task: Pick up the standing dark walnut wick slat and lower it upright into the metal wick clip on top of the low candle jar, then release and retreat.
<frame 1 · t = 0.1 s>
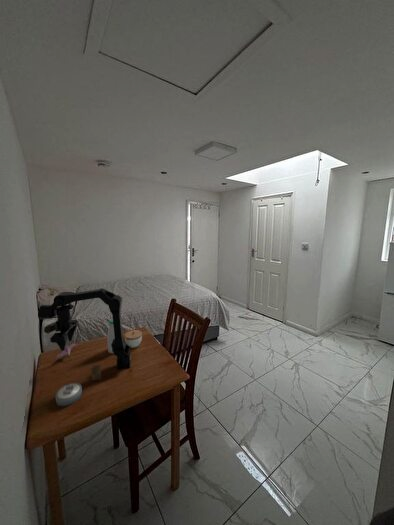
hand: (66, 345, 109), 15 cm above the table, fingers open, 9 cm apart
lily: (67, 358, 122), on the table
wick: (96, 379, 105), on the table
milk bottle: (114, 350, 130), on the table
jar: (69, 396, 94), on the table
lidded jar: (133, 345, 136), on the table
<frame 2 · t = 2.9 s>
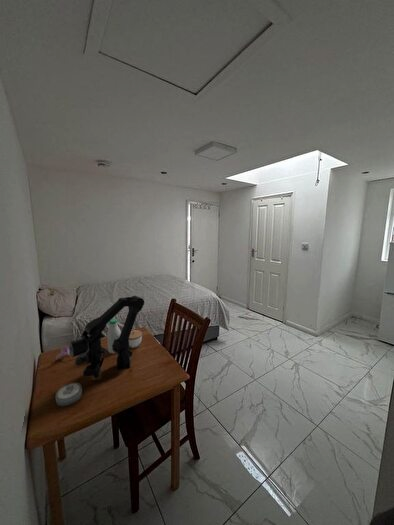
hand: (96, 376, 105), 2 cm above the table, fingers closed on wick, 1 cm apart
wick: (96, 379, 105), on the table, touching gripper
everything else where it was.
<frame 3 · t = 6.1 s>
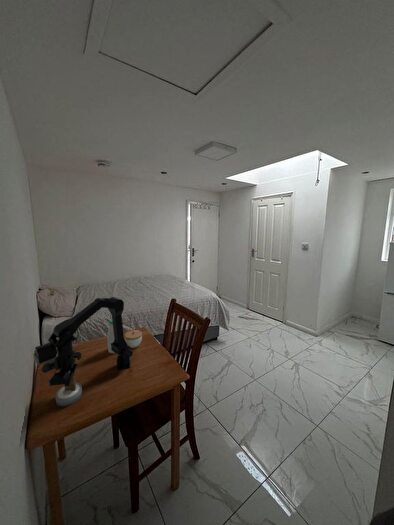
hand: (68, 384, 93), 6 cm above the table, fingers closed on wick, 1 cm apart
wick: (70, 390, 94), point 3 cm above the table, touching gripper, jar
everything else where it was.
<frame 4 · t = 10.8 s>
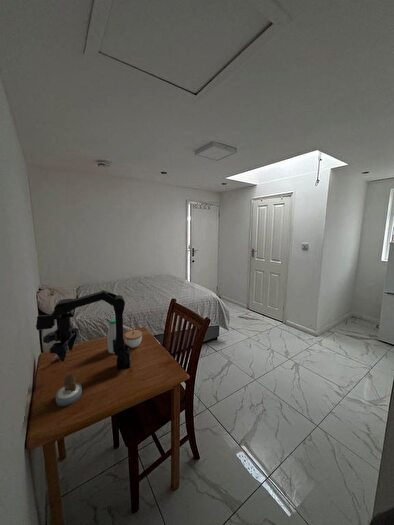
hand: (66, 355, 104), 13 cm above the table, fingers open, 9 cm apart
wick: (70, 390, 94), point 3 cm above the table, touching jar
at the end: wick 0.7 cm off-centre on the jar, point 3.2 cm above the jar's base; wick tilted 0°; the gripper is holding nothing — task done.
